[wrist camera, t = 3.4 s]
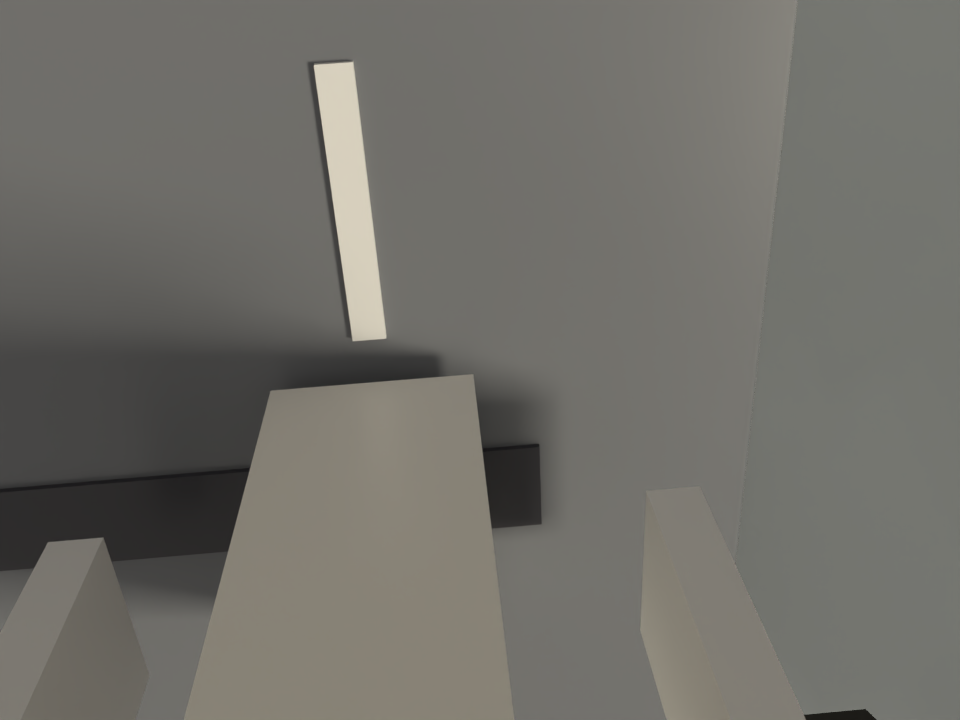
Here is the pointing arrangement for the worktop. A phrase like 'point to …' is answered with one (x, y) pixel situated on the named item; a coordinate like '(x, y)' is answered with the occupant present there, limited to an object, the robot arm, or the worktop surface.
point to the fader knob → (360, 564)
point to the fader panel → (386, 282)
